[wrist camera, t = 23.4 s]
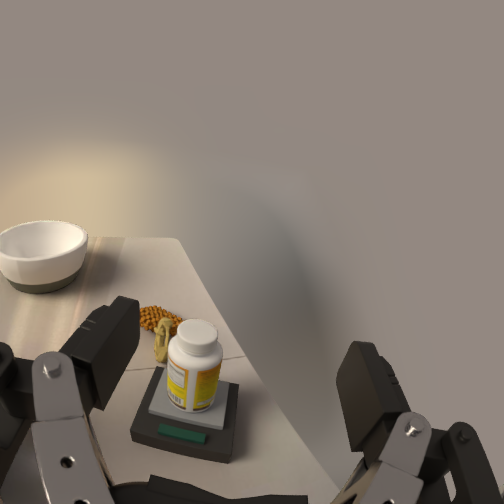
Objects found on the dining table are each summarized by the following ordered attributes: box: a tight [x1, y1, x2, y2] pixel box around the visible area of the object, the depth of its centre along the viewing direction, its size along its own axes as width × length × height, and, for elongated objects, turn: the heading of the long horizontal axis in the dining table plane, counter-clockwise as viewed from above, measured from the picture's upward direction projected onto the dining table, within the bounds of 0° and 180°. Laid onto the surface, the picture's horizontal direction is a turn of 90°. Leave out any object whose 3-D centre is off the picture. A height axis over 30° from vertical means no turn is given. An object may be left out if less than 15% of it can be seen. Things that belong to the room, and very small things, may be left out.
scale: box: [130, 366, 239, 464], centre depth 30 cm, size 11×11×3 cm
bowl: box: [0, 220, 88, 294], centre depth 49 cm, size 22×22×8 cm
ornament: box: [140, 306, 186, 363], centre depth 43 cm, size 7×10×15 cm
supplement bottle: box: [167, 319, 223, 413], centre depth 28 cm, size 6×6×10 cm
